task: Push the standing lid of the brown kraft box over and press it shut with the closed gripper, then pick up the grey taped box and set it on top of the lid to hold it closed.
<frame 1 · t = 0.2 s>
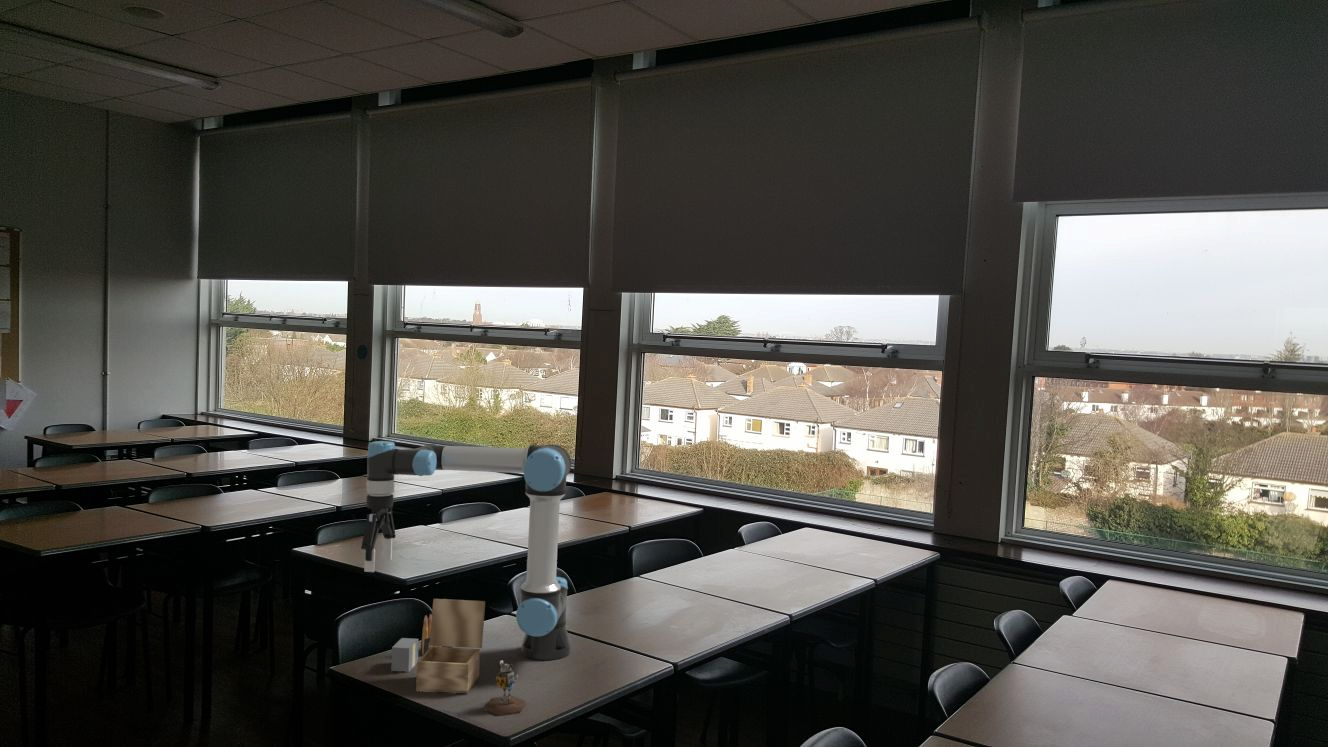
hand: (378, 565, 251), 28 cm above the table, tool pointing down, fingers open, 13 cm apart
crate: (448, 684, 235), on the table
lid: (457, 623, 242), point 15 cm above the table, hinge at 100.0°
robot figurine: (505, 708, 221), on the table
ammunition clip: (436, 651, 260), on the table
grey taped box: (404, 667, 247), on the table
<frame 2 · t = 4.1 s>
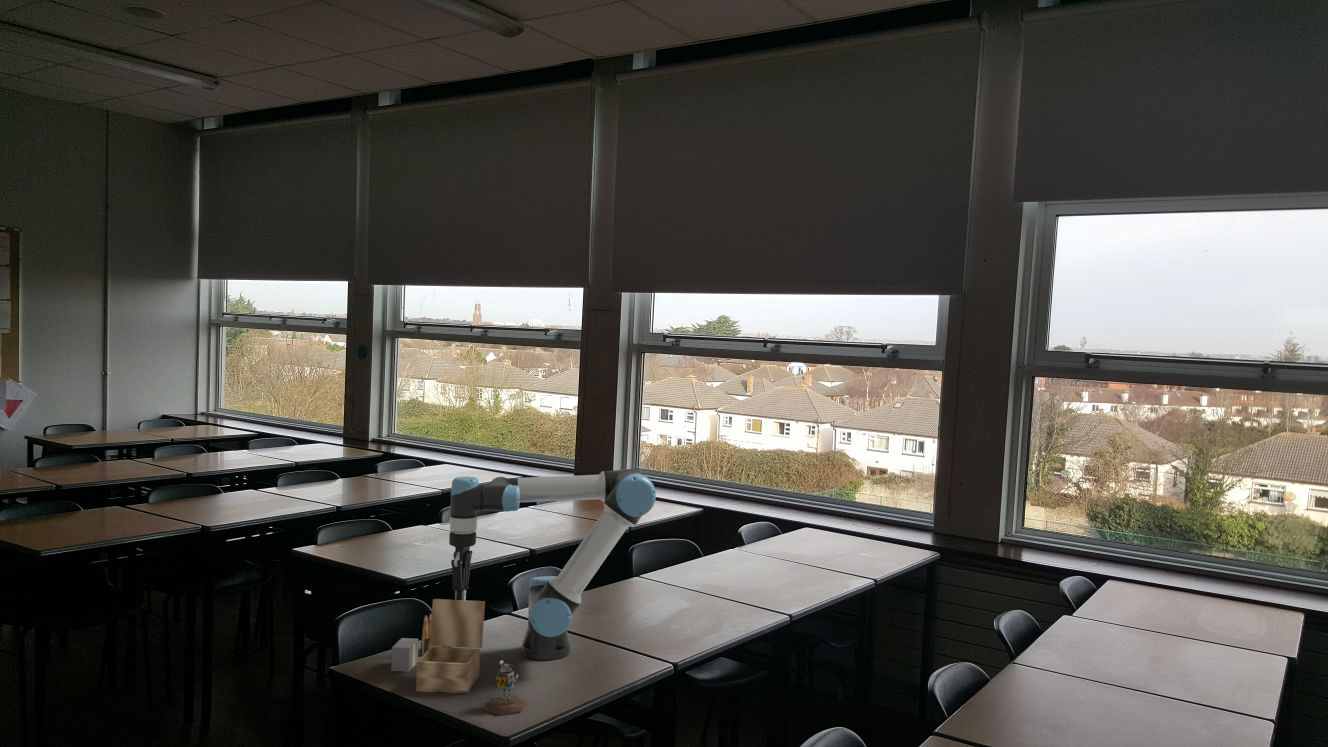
hand: (459, 612, 245), 17 cm above the table, tool pointing down, fingers closed
lid: (457, 623, 242), point 15 cm above the table, hinge at 98.1°, touching gripper
everything else where it was.
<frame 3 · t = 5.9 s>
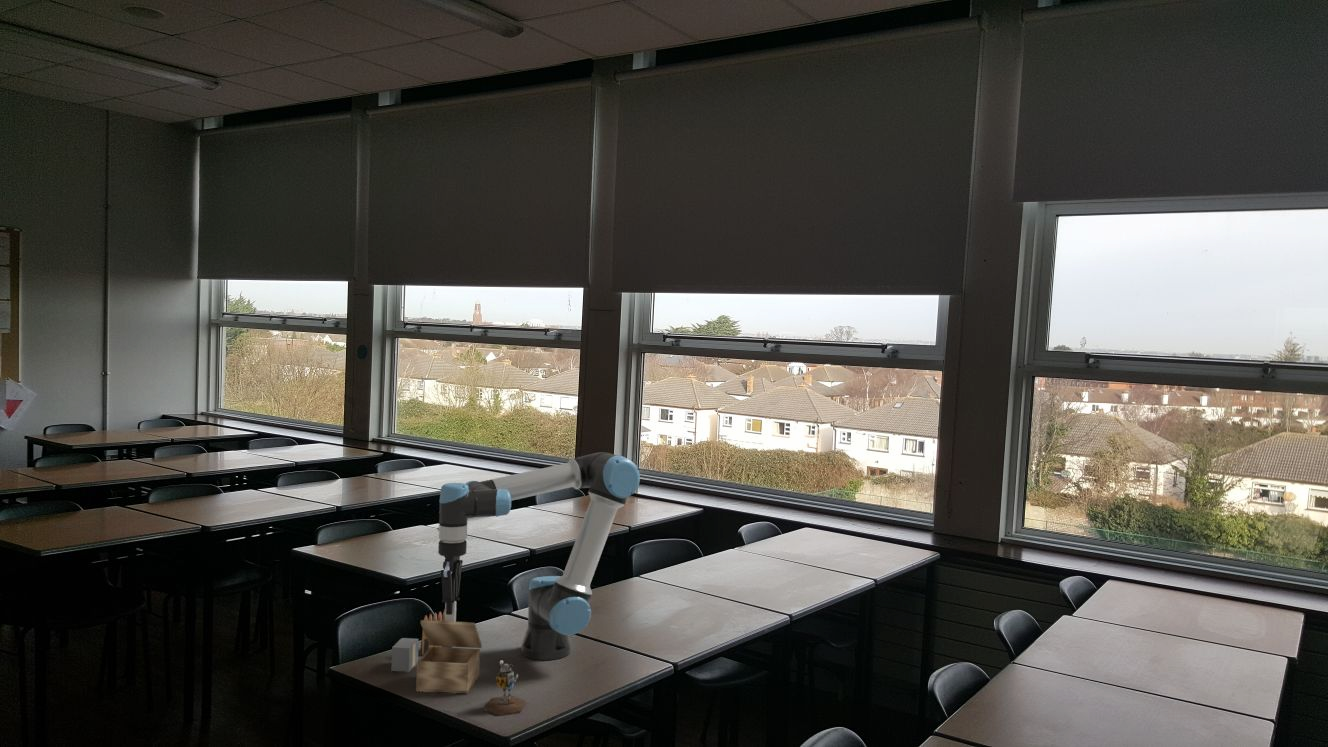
hand: (450, 624, 235), 16 cm above the table, tool pointing down, fingers closed
lid: (451, 634, 237), point 13 cm above the table, hinge at 46.5°, touching gripper
everything else where it was.
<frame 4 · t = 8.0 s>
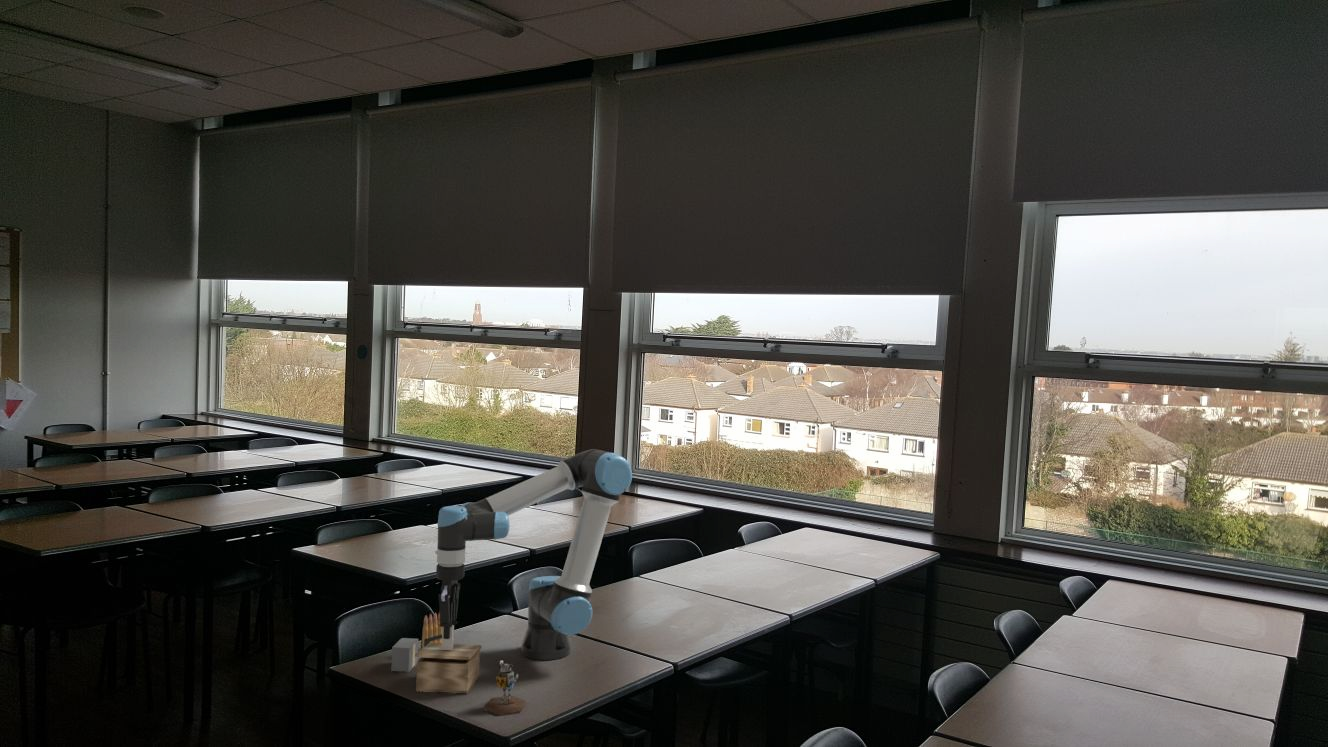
hand: (447, 649, 234), 10 cm above the table, tool pointing down, fingers closed
lid: (448, 650, 234), point 9 cm above the table, hinge at 5.6°, touching gripper
everything else where it was.
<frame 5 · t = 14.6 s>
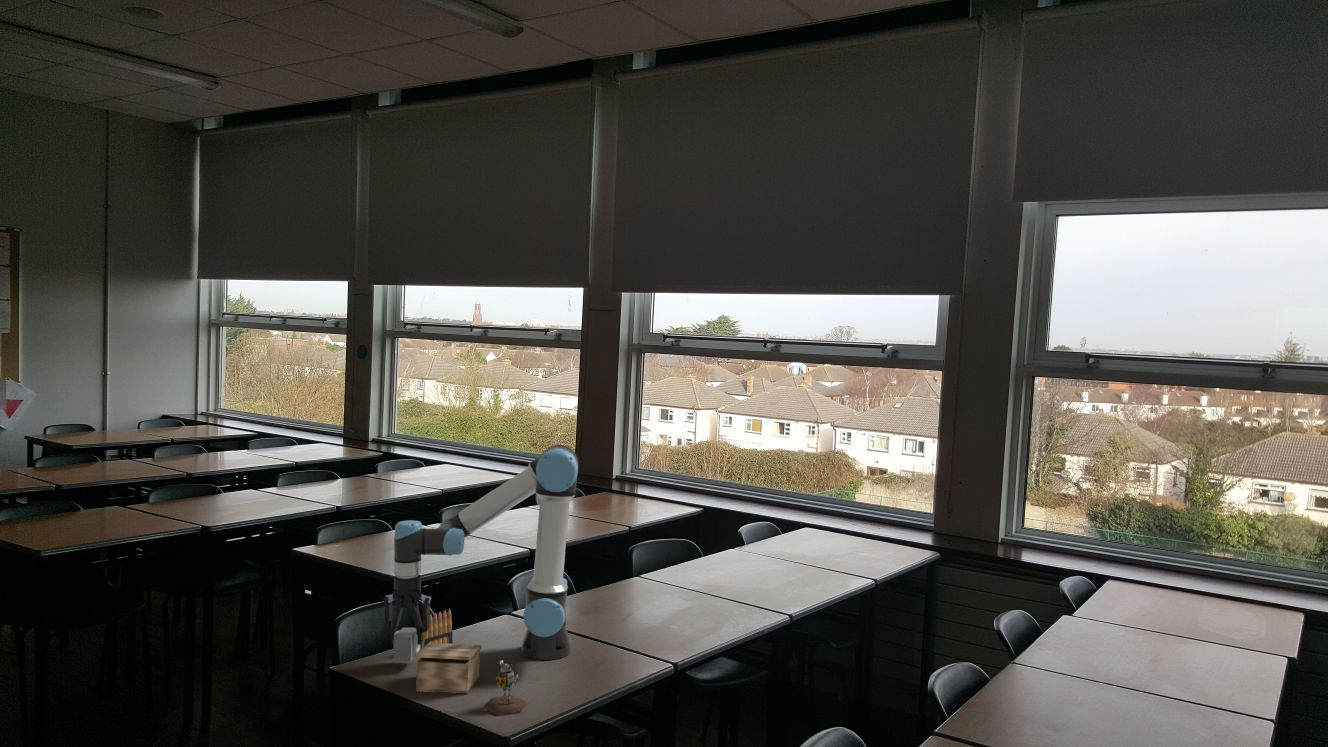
hand: (406, 654, 246), 3 cm above the table, tool pointing down, fingers closed on grey taped box, 5 cm apart
lid: (448, 650, 234), point 9 cm above the table, hinge at 5.6°
grey taped box: (406, 656, 247), point 3 cm above the table, touching gripper
everything else where it was.
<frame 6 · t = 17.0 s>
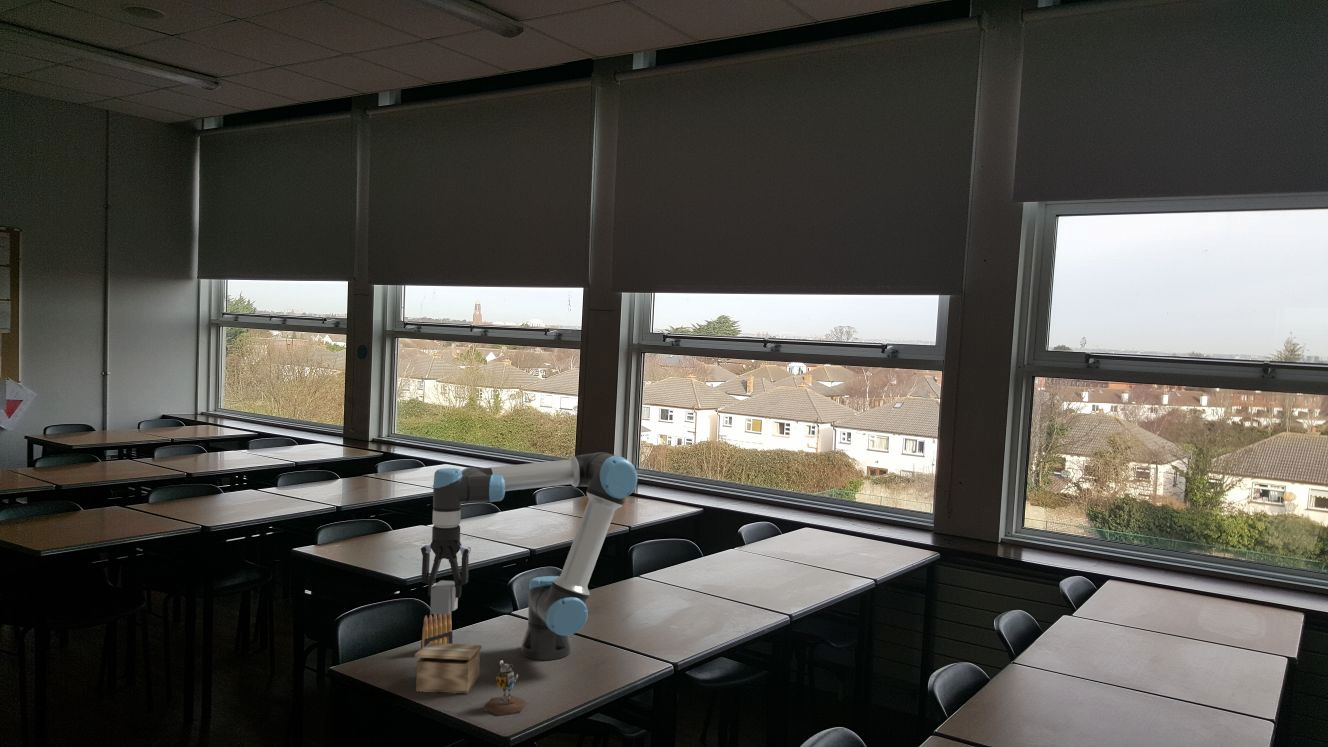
hand: (444, 608, 236), 21 cm above the table, tool pointing down, fingers closed on grey taped box, 5 cm apart
grey taped box: (444, 609, 236), point 20 cm above the table, touching gripper
everything else where it was.
when the fingers open (9 cm above the table, at t = 19.3 s): grey taped box stays where it is, resting on lid.
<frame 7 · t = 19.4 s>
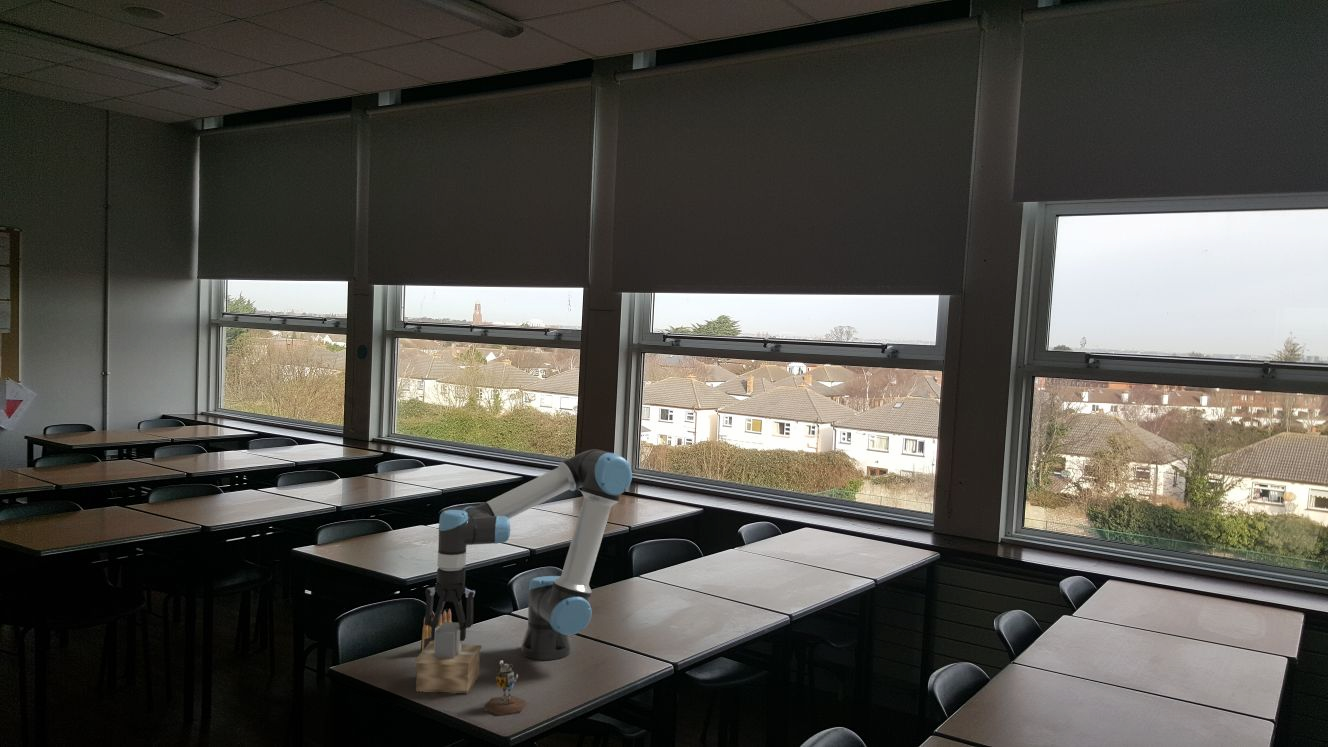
hand: (447, 651, 234), 9 cm above the table, tool pointing down, fingers open, 5 cm apart
lid: (448, 653, 234), point 9 cm above the table, hinge at -1.5°, touching crate, gripper, grey taped box
grey taped box: (448, 652, 234), point 9 cm above the table, touching lid
everything else where it was.
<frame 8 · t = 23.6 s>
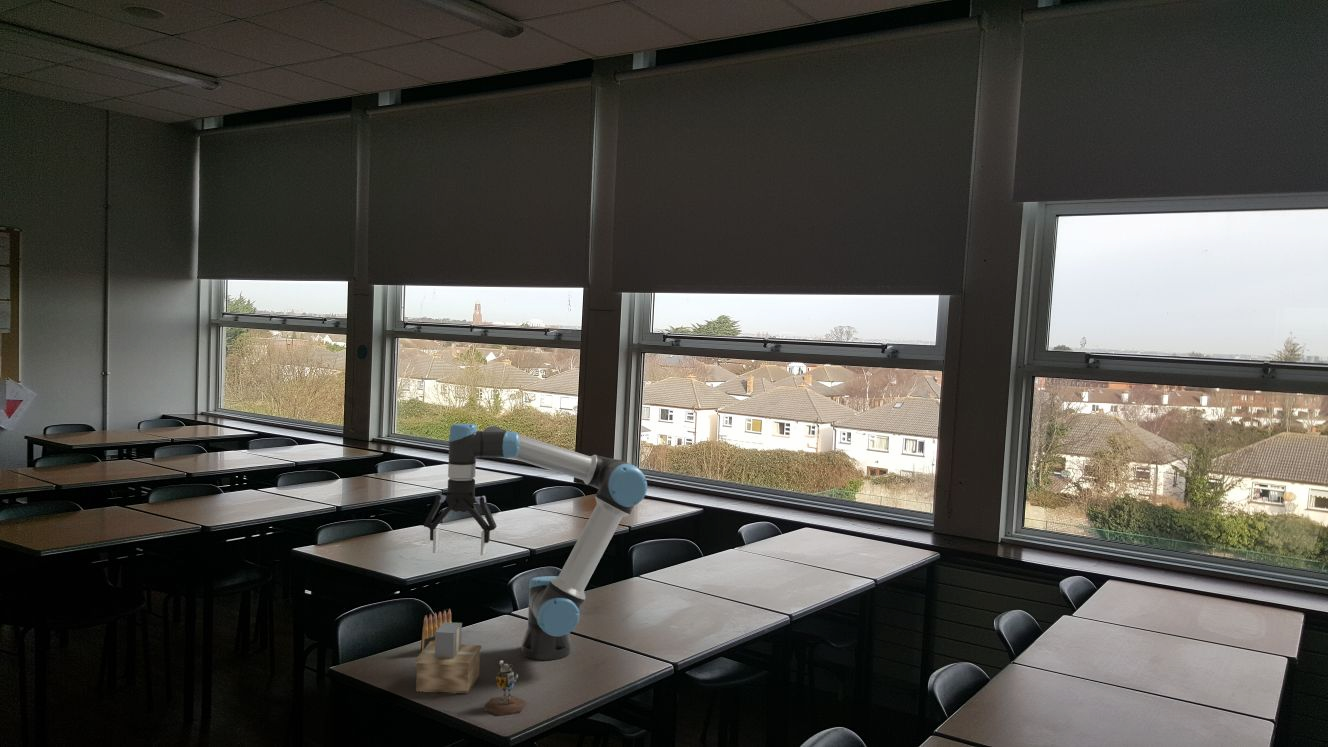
hand: (459, 553, 241), 35 cm above the table, tool pointing down, fingers open, 13 cm apart
lid: (448, 653, 234), point 9 cm above the table, hinge at -1.4°, touching crate, grey taped box
everything else where it was.
at the end: lid at -1° (first picture: +100°); grey taped box inside the target area (0.2 cm from its centre), point 9.0 cm above the table; the gripper is holding nothing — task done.
